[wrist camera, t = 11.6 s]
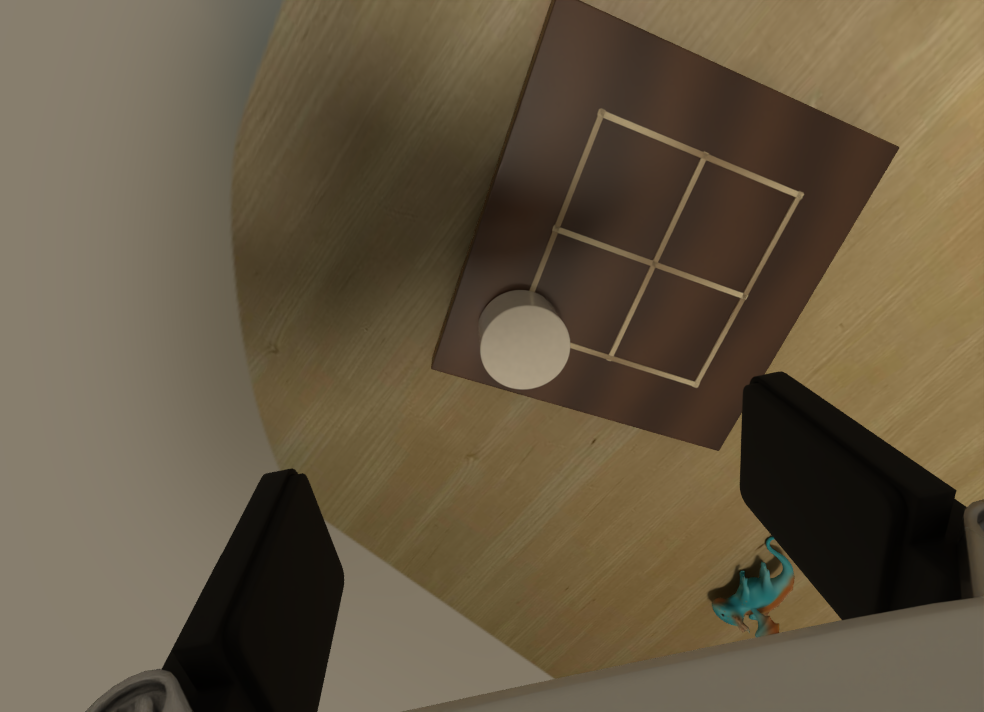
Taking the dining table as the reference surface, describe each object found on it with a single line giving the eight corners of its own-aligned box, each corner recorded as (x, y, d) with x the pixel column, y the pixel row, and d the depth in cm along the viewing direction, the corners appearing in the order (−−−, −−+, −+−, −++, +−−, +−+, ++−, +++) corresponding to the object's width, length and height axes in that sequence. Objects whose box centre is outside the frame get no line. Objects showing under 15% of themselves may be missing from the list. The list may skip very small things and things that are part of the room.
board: (431, 359, 32) (430, 370, 30) (552, -2, 25) (558, -11, 24) (708, 439, 36) (719, 452, 34) (879, 146, 29) (902, 147, 27)
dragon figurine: (719, 534, 38) (715, 643, 38) (835, 549, 36) (830, 666, 36) (711, 510, 44) (707, 604, 44) (809, 522, 42) (805, 621, 42)
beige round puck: (466, 354, 30) (467, 376, 27) (493, 278, 29) (498, 293, 26) (541, 376, 31) (550, 399, 28) (572, 304, 29) (585, 321, 27)
